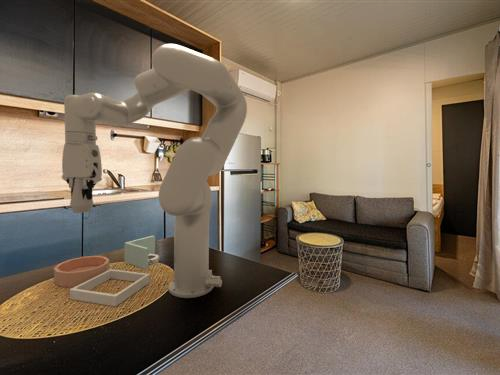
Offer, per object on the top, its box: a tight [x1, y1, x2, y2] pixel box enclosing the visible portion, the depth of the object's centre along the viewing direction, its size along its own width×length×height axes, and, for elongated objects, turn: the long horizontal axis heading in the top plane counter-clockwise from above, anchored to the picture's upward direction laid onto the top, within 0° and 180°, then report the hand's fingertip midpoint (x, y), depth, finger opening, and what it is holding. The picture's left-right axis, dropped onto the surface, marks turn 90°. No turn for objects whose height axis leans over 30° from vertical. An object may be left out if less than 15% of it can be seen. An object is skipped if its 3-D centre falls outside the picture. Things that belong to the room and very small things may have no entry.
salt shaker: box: [69, 178, 94, 214], centre depth 75 cm, size 6×6×13 cm
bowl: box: [53, 255, 111, 288], centre depth 76 cm, size 14×14×4 cm
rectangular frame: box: [69, 268, 151, 307], centre depth 68 cm, size 14×14×2 cm
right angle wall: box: [124, 235, 160, 270], centre depth 91 cm, size 12×12×8 cm
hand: (82, 201), depth 75 cm, fingers closed on salt shaker, 3 cm apart
